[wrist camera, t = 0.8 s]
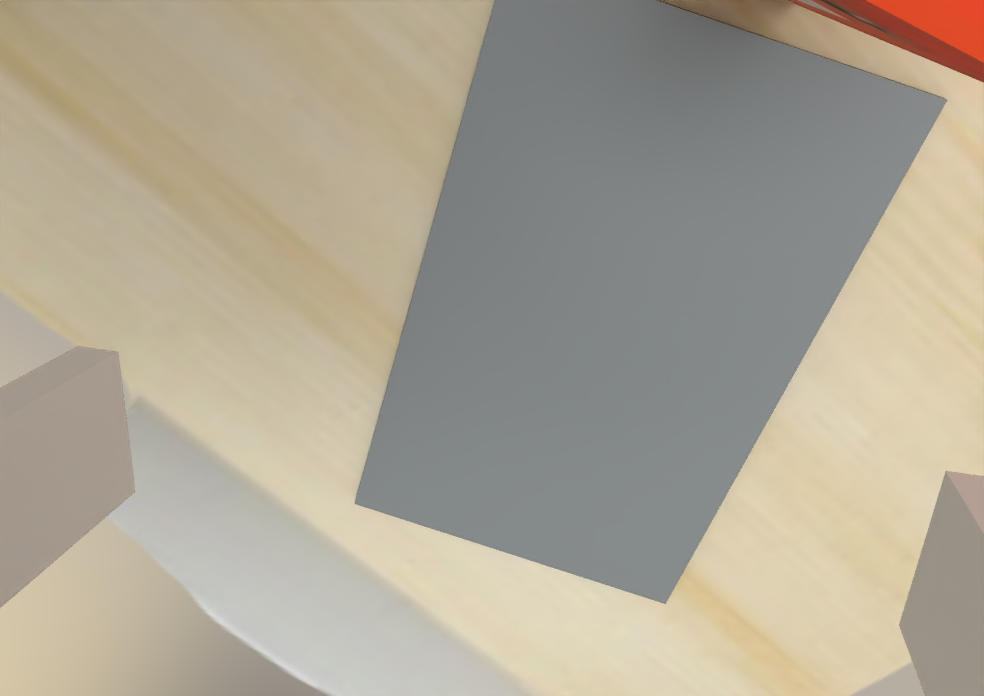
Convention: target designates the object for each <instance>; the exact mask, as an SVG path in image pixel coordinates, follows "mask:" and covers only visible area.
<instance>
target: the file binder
mask: <svg viewBox="0 0 984 696" xmlns="http://www.w3.org/2000/svg"><path fill="white" fill-rule="evenodd" d="M789 1H791V2H793V3H795V4H797V5H799V6H802V7H804V8H806V9H809V10H811V11H814V12H816V13H818V14H821V15H823V16H826V17H828V18H830V19H833V20H835V21H838V22H840V23H842V24H845V25H847V26H850V27H852V28H854V29H857V30H859V31H862V32H864V33H866V34H869V35H871V36H874V37H876V38H878V39H881V40H883V41H886V42H888V43H890V44H893V45H895V46H898V47H900V48H902V49H905V50H907V51H910V52H912V53H914V54H917V55H919V56H922V57H924V58H926V59H929V60H931V61H934V62H936V63H938V64H941V65H943V66H946V67H948V68H950V69H953V70H955V71H958V72H960V73H962V74H965V75H967V76H970V77H972V78H974V79H977V80H979V81H982V82H984V0H789Z"/></svg>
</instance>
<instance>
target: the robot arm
mask: <svg viewBox="0 0 984 696" xmlns="http://www.w3.org/2000/svg"><path fill="white" fill-rule="evenodd" d="M134 492H135V484H134V476H133V468H132V460H131V451H130V443H129V435H128V427H127V419H126V411H125V403H124V394H123V386H122V378H121V370H120V362H119V354H118V352H115V351H108V350H101V349H94V348H87V347H80V346H77V347H76V348H74V349H72V350H70V351H68V352H66V353H64V354H63V355H61V356H59V357H57V358H55V359H53V360H51V361H50V362H48V363H46V364H44V365H42V366H40V367H38V368H36V369H35V370H33V371H31V372H29V373H27V374H25V375H23V376H22V377H20V378H18V379H16V380H14V381H12V382H10V383H8V384H7V385H5V386H3V387H1V388H0V608H1V607H2V606H3V605H4V604H5V603H6V602H8V601H9V600H10V599H11V598H12V597H13V596H15V595H16V594H17V593H18V592H19V591H20V590H22V589H23V588H24V587H25V586H26V585H28V584H29V583H30V582H31V581H32V580H33V579H35V578H36V577H37V576H38V575H39V574H40V573H41V572H43V571H44V570H45V569H46V568H47V567H48V566H50V565H51V564H52V563H53V562H54V561H55V560H57V559H58V558H59V557H60V556H61V555H62V554H64V553H65V552H66V551H67V550H68V549H69V548H70V547H72V546H73V545H74V544H75V543H76V542H77V541H79V540H80V539H81V538H82V537H83V536H84V535H86V534H87V533H88V532H89V531H90V530H91V529H93V528H94V527H95V526H96V525H97V524H98V523H99V522H101V521H102V520H103V519H104V518H105V517H107V516H108V515H109V514H110V513H111V512H112V511H114V510H115V509H116V508H117V507H118V506H119V505H120V504H122V503H123V502H124V501H125V500H126V499H127V498H129V497H130V496H131V495H132V494H133V493H134ZM899 626H900V629H901V632H902V634H903V637H904V640H905V642H906V645H907V648H908V651H909V653H910V656H911V659H912V661H913V664H914V667H915V669H916V672H917V675H918V678H919V680H920V683H921V686H922V688H923V691H924V694H925V696H984V476H978V475H971V474H964V473H957V472H950V471H946V472H945V475H944V479H943V482H942V485H941V489H940V492H939V495H938V498H937V502H936V505H935V508H934V512H933V515H932V518H931V522H930V525H929V528H928V531H927V535H926V538H925V541H924V545H923V548H922V551H921V555H920V558H919V561H918V564H917V568H916V571H915V574H914V578H913V581H912V584H911V588H910V591H909V594H908V597H907V601H906V604H905V607H904V611H903V614H902V617H901V621H900V624H899Z"/></svg>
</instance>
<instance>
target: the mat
mask: <svg viewBox="0 0 984 696" xmlns="http://www.w3.org/2000/svg"><path fill="white" fill-rule="evenodd" d="M946 102H947V100H946V99H944V98H942V97H939V96H936V95H933V94H930V93H928V92H925V91H922V90H919V89H916V88H913V87H910V86H907V85H904V84H901V83H898V82H895V81H892V80H889V79H887V78H884V77H881V76H878V75H875V74H872V73H869V72H866V71H863V70H860V69H857V68H854V67H851V66H849V65H846V64H843V63H840V62H837V61H834V60H831V59H828V58H825V57H822V56H819V55H816V54H813V53H810V52H808V51H805V50H802V49H799V48H796V47H793V46H790V45H787V44H784V43H781V42H778V41H775V40H772V39H769V38H767V37H764V36H761V35H758V34H755V33H752V32H749V31H746V30H743V29H740V28H737V27H734V26H731V25H729V24H726V23H723V22H720V21H717V20H714V19H711V18H708V17H705V16H702V15H699V14H696V13H693V12H690V11H688V10H685V9H682V8H679V7H676V6H673V5H670V4H667V3H664V2H661V1H658V0H495V3H494V7H493V10H492V14H491V17H490V21H489V24H488V28H487V32H486V35H485V39H484V42H483V46H482V49H481V53H480V57H479V60H478V64H477V67H476V71H475V75H474V78H473V82H472V85H471V89H470V92H469V96H468V100H467V103H466V107H465V110H464V114H463V117H462V121H461V125H460V128H459V132H458V135H457V139H456V142H455V146H454V150H453V153H452V157H451V160H450V164H449V168H448V171H447V175H446V178H445V182H444V185H443V189H442V193H441V196H440V200H439V203H438V207H437V210H436V214H435V218H434V221H433V225H432V228H431V232H430V236H429V239H428V243H427V246H426V250H425V253H424V257H423V261H422V264H421V268H420V271H419V275H418V278H417V282H416V286H415V289H414V293H413V296H412V300H411V304H410V307H409V311H408V314H407V318H406V321H405V325H404V329H403V332H402V336H401V339H400V343H399V346H398V350H397V354H396V357H395V361H394V364H393V368H392V371H391V375H390V379H389V382H388V386H387V389H386V393H385V397H384V400H383V404H382V407H381V411H380V414H379V418H378V422H377V425H376V429H375V432H374V436H373V439H372V443H371V447H370V450H369V454H368V457H367V461H366V465H365V468H364V472H363V475H362V479H361V482H360V486H359V490H358V493H357V497H356V500H355V504H357V505H360V506H363V507H366V508H369V509H373V510H376V511H379V512H382V513H385V514H388V515H391V516H394V517H397V518H400V519H404V520H407V521H410V522H413V523H416V524H419V525H422V526H425V527H428V528H432V529H435V530H438V531H441V532H444V533H447V534H450V535H453V536H456V537H459V538H463V539H466V540H469V541H472V542H475V543H478V544H481V545H484V546H487V547H490V548H494V549H497V550H500V551H503V552H506V553H509V554H512V555H515V556H518V557H521V558H525V559H528V560H531V561H534V562H537V563H540V564H543V565H546V566H549V567H553V568H556V569H559V570H562V571H565V572H568V573H571V574H574V575H577V576H580V577H584V578H587V579H590V580H593V581H596V582H599V583H602V584H605V585H608V586H611V587H615V588H618V589H621V590H624V591H627V592H630V593H633V594H636V595H639V596H643V597H646V598H649V599H652V600H655V601H658V602H661V603H664V604H666V602H667V600H668V598H669V597H670V595H671V593H672V591H673V589H674V588H675V586H676V584H677V582H678V581H679V579H680V577H681V575H682V573H683V572H684V570H685V568H686V566H687V564H688V563H689V561H690V559H691V557H692V556H693V554H694V552H695V550H696V548H697V547H698V545H699V543H700V541H701V539H702V538H703V536H704V534H705V532H706V531H707V529H708V527H709V525H710V523H711V522H712V520H713V518H714V516H715V514H716V513H717V511H718V509H719V507H720V505H721V504H722V502H723V500H724V498H725V497H726V495H727V493H728V491H729V489H730V488H731V486H732V484H733V482H734V480H735V479H736V477H737V475H738V473H739V472H740V470H741V468H742V466H743V464H744V463H745V461H746V459H747V457H748V455H749V454H750V452H751V450H752V448H753V446H754V445H755V443H756V441H757V439H758V438H759V436H760V434H761V432H762V430H763V429H764V427H765V425H766V423H767V421H768V420H769V418H770V416H771V414H772V413H773V411H774V409H775V407H776V405H777V404H778V402H779V400H780V398H781V396H782V395H783V393H784V391H785V389H786V388H787V386H788V384H789V382H790V380H791V379H792V377H793V375H794V373H795V371H796V370H797V368H798V366H799V364H800V362H801V361H802V359H803V357H804V355H805V354H806V352H807V350H808V348H809V346H810V345H811V343H812V341H813V339H814V337H815V336H816V334H817V332H818V330H819V329H820V327H821V325H822V323H823V321H824V320H825V318H826V316H827V314H828V312H829V311H830V309H831V307H832V305H833V304H834V302H835V300H836V298H837V296H838V295H839V293H840V291H841V289H842V287H843V286H844V284H845V282H846V280H847V278H848V277H849V275H850V273H851V271H852V270H853V268H854V266H855V264H856V262H857V261H858V259H859V257H860V255H861V253H862V252H863V250H864V248H865V246H866V245H867V243H868V241H869V239H870V237H871V236H872V234H873V232H874V230H875V228H876V227H877V225H878V223H879V221H880V219H881V218H882V216H883V214H884V212H885V211H886V209H887V207H888V205H889V203H890V202H891V200H892V198H893V196H894V194H895V193H896V191H897V189H898V187H899V186H900V184H901V182H902V180H903V178H904V177H905V175H906V173H907V171H908V169H909V168H910V166H911V164H912V162H913V161H914V159H915V157H916V155H917V153H918V152H919V150H920V148H921V146H922V144H923V143H924V141H925V139H926V137H927V135H928V134H929V132H930V130H931V128H932V127H933V125H934V123H935V121H936V119H937V118H938V116H939V114H940V112H941V110H942V109H943V107H944V105H945V103H946Z"/></svg>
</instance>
